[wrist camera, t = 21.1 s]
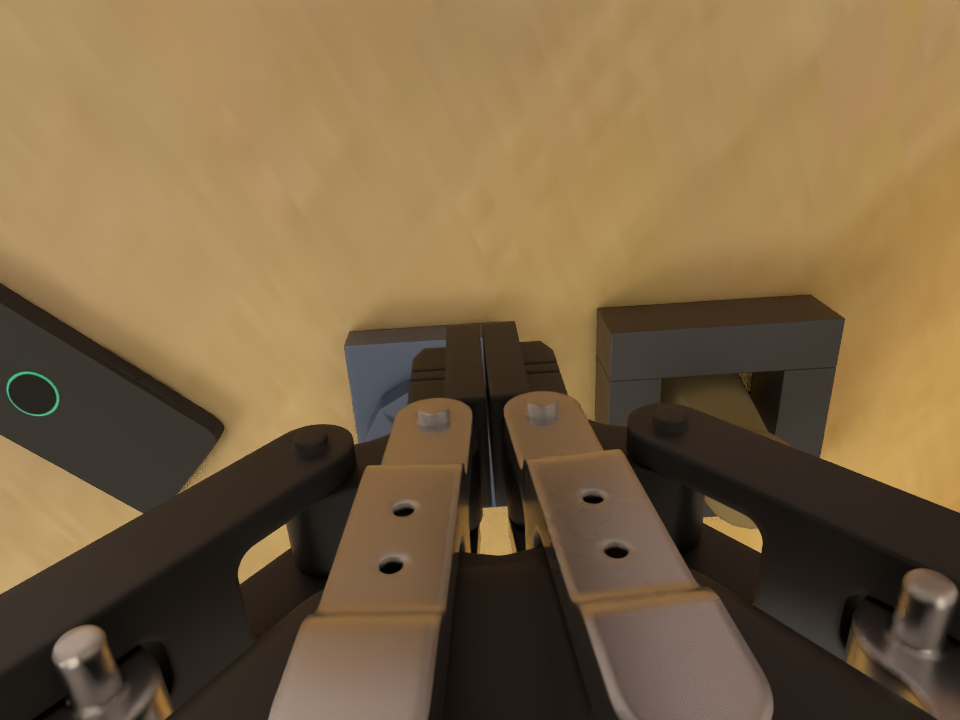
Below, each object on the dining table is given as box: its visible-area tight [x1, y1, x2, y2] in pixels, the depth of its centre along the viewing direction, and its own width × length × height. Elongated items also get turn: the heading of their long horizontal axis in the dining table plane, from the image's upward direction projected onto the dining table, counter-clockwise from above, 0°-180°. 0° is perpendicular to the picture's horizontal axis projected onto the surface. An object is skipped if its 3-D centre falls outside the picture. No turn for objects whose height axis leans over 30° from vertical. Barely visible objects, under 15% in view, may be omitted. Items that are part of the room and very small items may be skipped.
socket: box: [595, 295, 845, 517], centre depth 42 cm, size 13×13×4 cm
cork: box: [660, 373, 791, 529], centre depth 39 cm, size 6×6×11 cm
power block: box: [344, 323, 502, 508], centre depth 42 cm, size 12×9×4 cm
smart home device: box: [0, 284, 224, 513], centre depth 41 cm, size 8×2×20 cm
